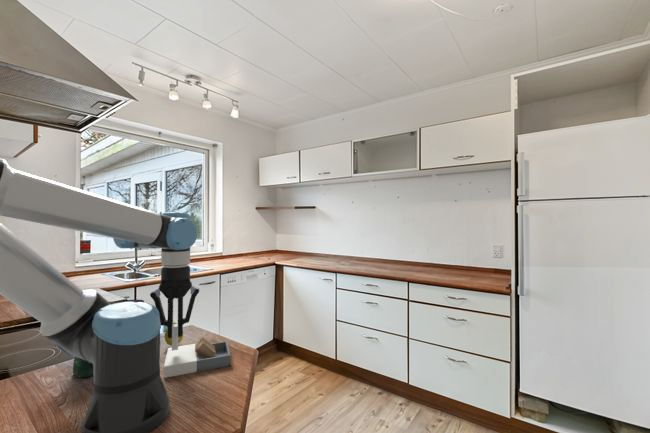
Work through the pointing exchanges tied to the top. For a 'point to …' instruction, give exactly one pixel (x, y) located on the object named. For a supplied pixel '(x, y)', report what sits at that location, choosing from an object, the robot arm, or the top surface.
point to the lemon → (169, 340)
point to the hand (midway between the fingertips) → (175, 348)
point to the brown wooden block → (205, 348)
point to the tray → (215, 358)
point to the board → (180, 361)
